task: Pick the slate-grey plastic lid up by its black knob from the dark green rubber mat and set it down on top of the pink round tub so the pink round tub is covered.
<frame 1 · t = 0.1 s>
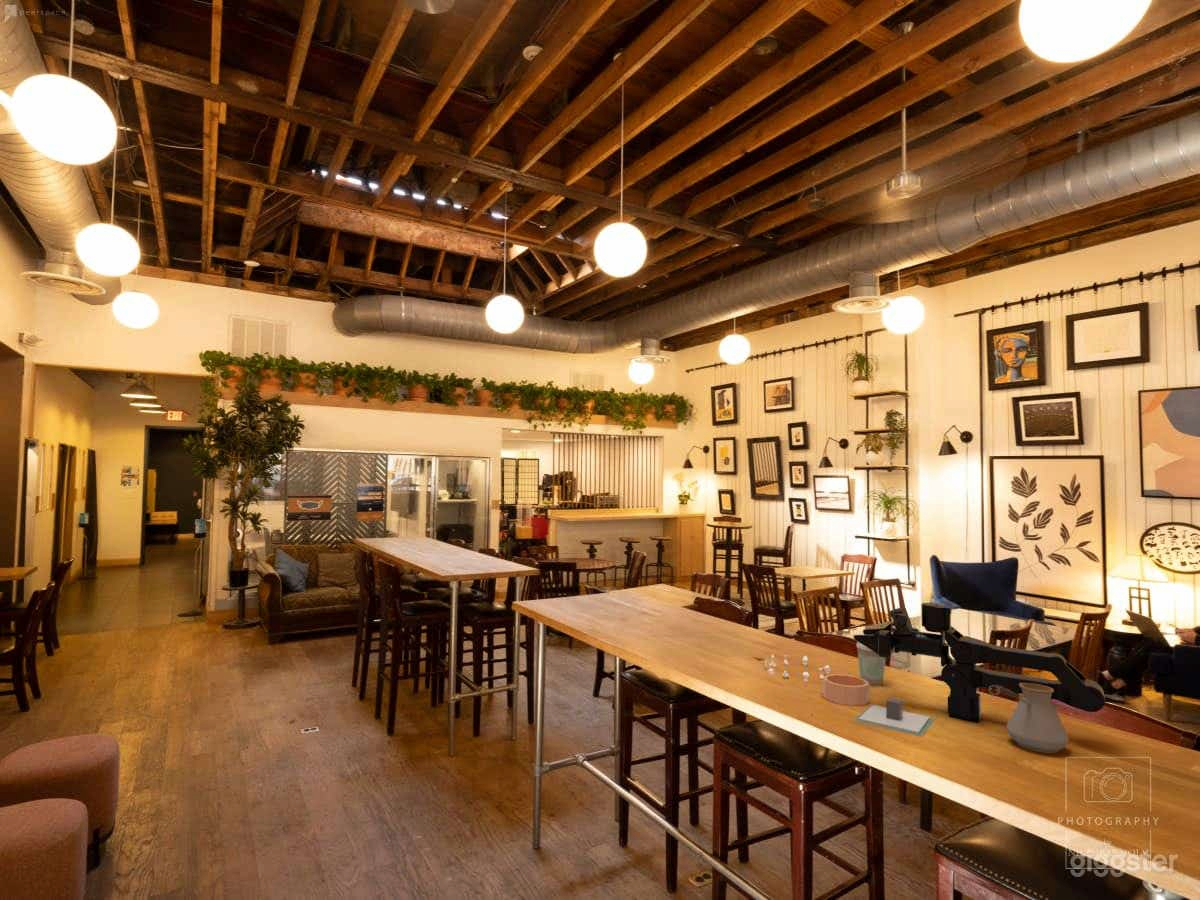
hand: (858, 634, 176), 17 cm above the table, tool horizontal, fingers open, 9 cm apart
pink round tub: (845, 700, 171), on the table
lid: (894, 720, 155), resting on mat
coffee pot: (1023, 750, 140), on the table
coffee cup: (871, 683, 188), on the table
mat: (894, 722, 155), on the table
game piece set: (795, 673, 197), on the table
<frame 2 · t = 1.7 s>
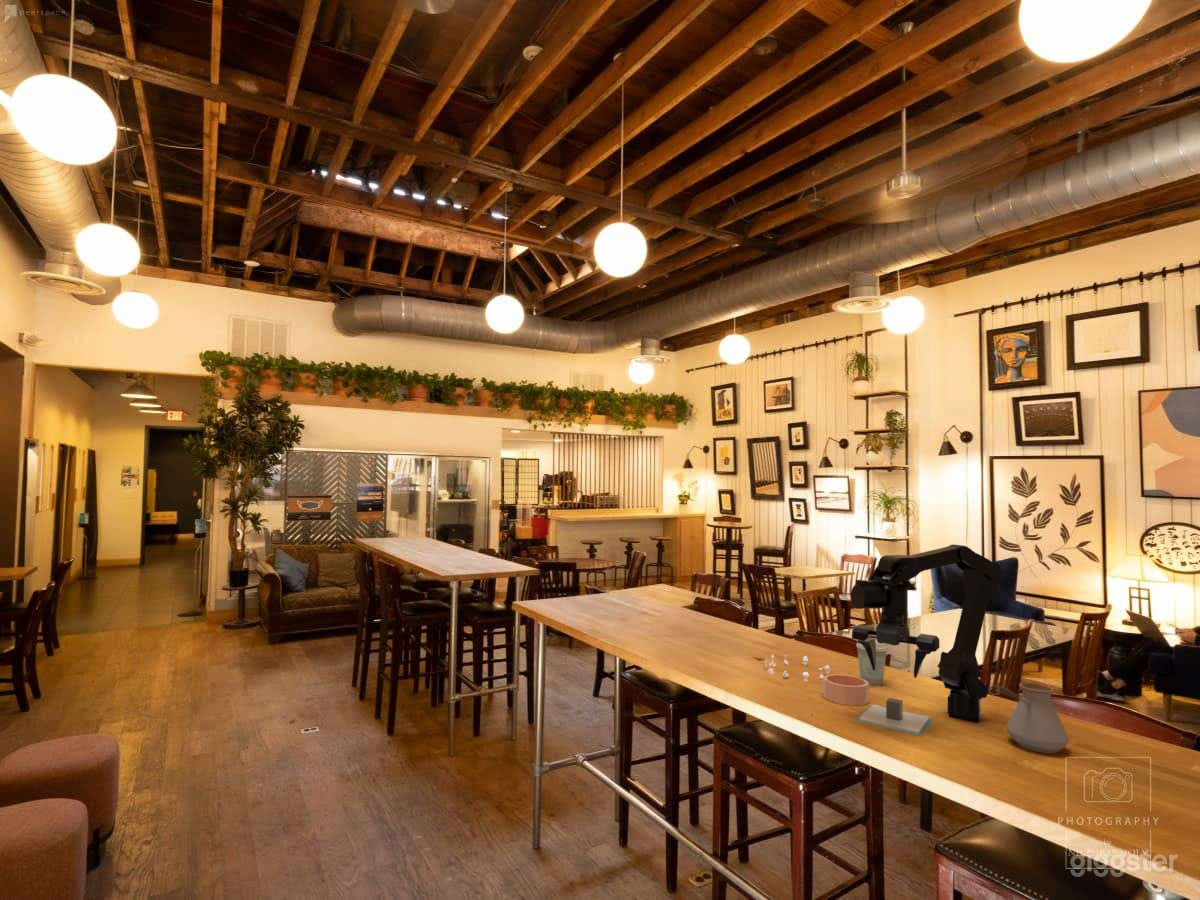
hand: (894, 673, 156), 11 cm above the table, tool pointing down, fingers open, 9 cm apart
nothing on the table moved.
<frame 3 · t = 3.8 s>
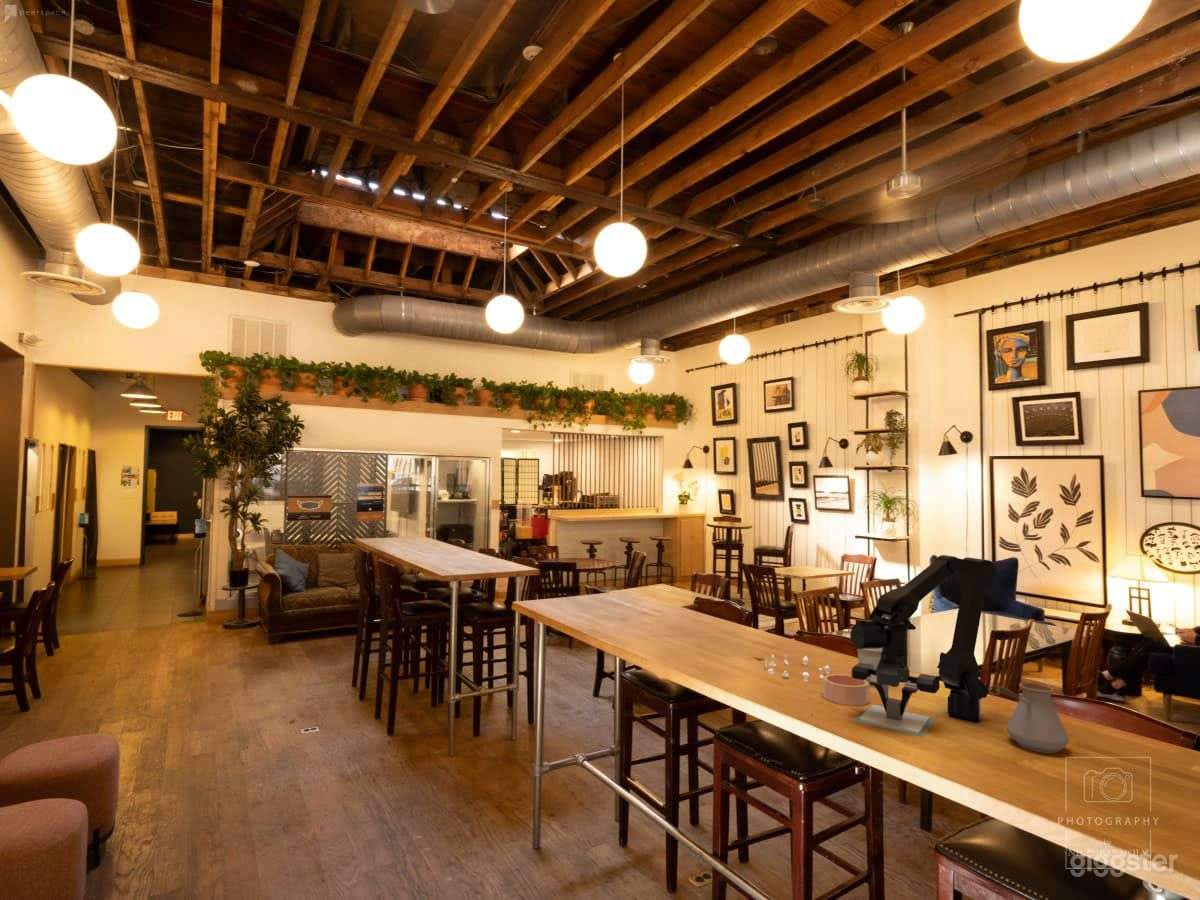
hand: (894, 713, 155), 2 cm above the table, tool pointing down, fingers closed on lid, 3 cm apart
lid: (894, 720, 155), resting on mat, touching gripper
everything else where it was.
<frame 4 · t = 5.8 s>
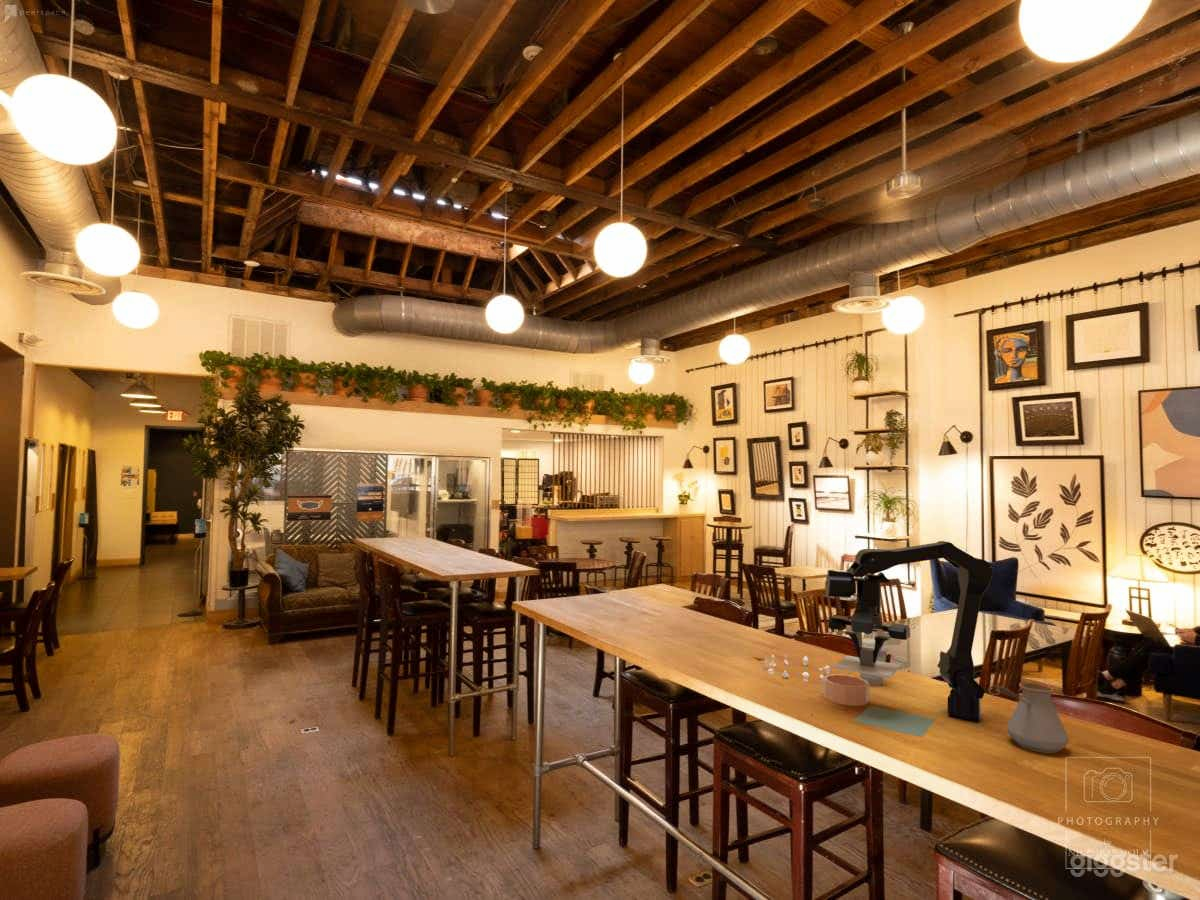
hand: (867, 661, 164), 12 cm above the table, tool pointing down, fingers closed on lid, 3 cm apart
lid: (867, 667, 164), point 11 cm above the table, touching gripper
everything else where it was.
when the fingers open (7 cm above the table, at t = 8.0 s): lid stays where it is, resting on pink round tub.
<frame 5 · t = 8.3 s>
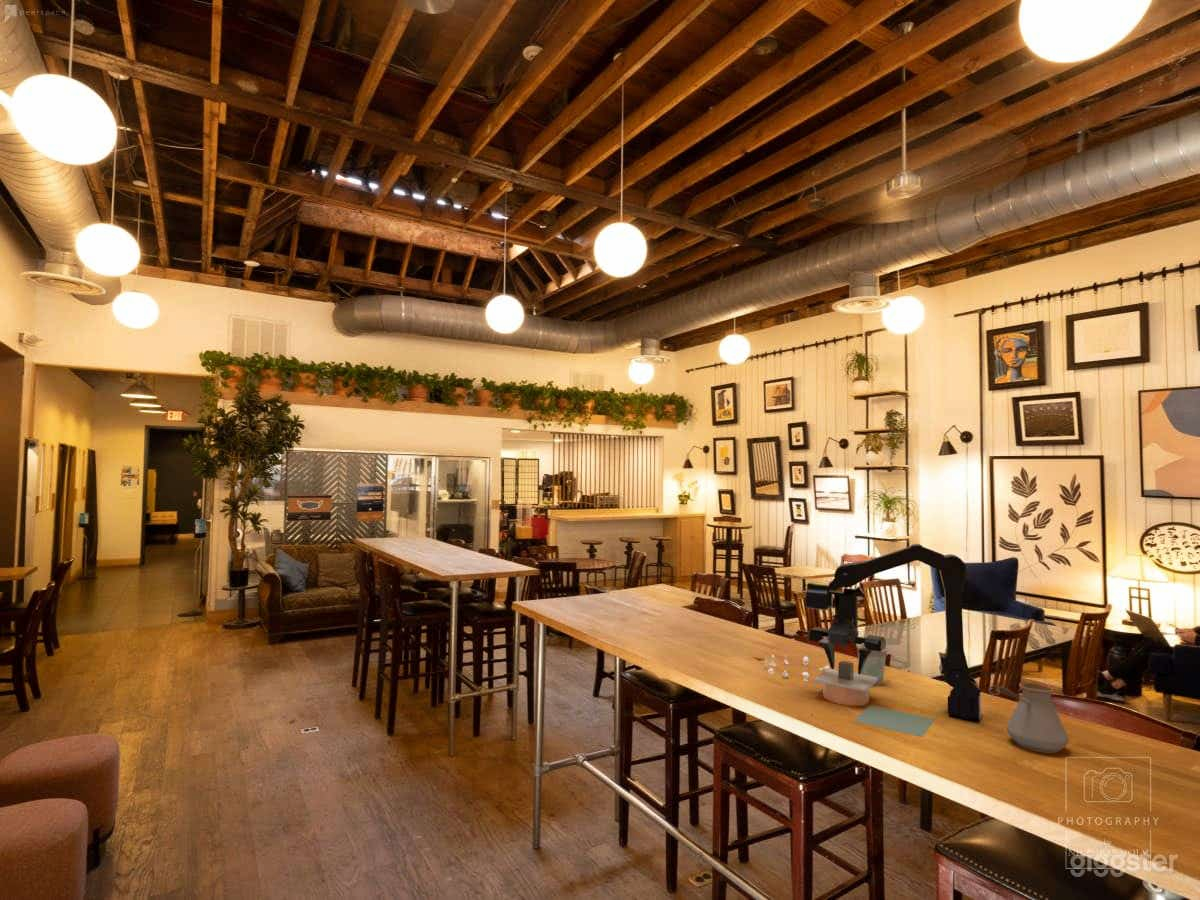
hand: (846, 671, 171), 7 cm above the table, tool pointing down, fingers open, 7 cm apart
lid: (845, 680, 171), point 5 cm above the table, touching pink round tub
everything else where it was.
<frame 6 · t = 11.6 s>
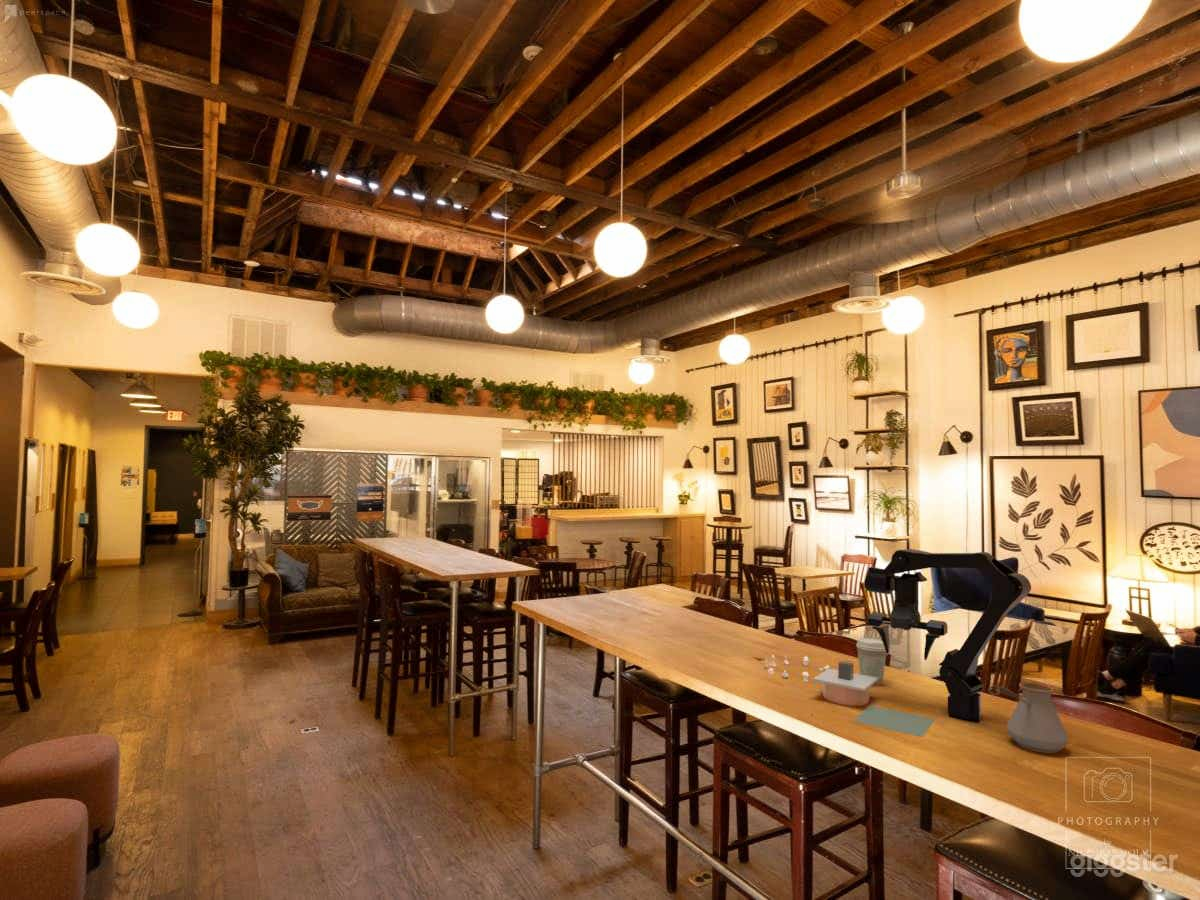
hand: (906, 656, 171), 12 cm above the table, tool pointing down, fingers open, 9 cm apart
nothing on the table moved.
at the end: lid 0.1 cm off-centre on the pink round tub, point 5.2 cm above the pink round tub's base; lid tilted 0°; the gripper is holding nothing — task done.
